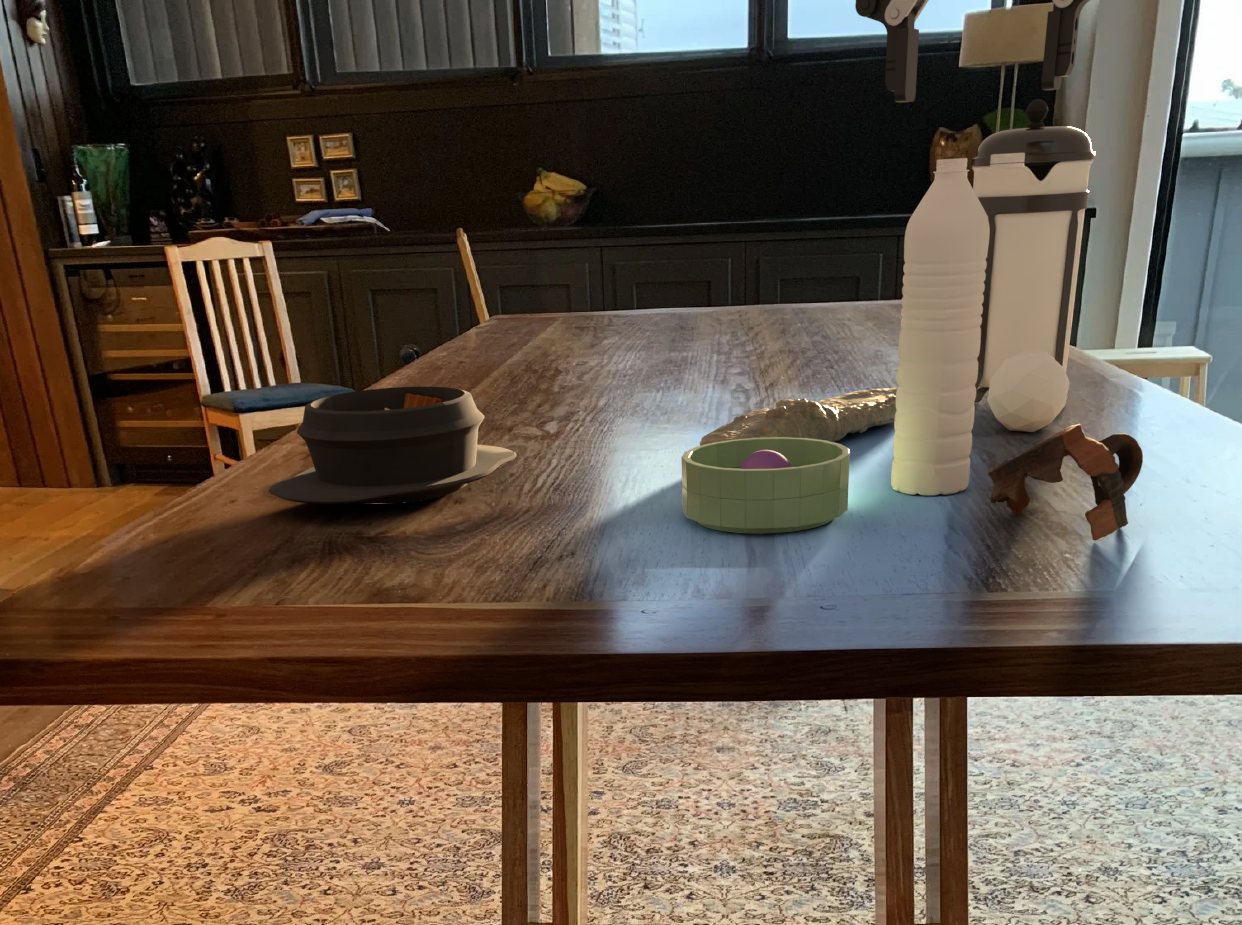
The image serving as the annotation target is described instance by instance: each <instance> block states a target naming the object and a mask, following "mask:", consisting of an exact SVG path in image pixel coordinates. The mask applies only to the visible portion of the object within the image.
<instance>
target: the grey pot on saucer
mask: <svg viewBox="0 0 1242 925" xmlns="http://www.w3.org/2000/svg"><path fill="white" fill-rule="evenodd" d="M484 420H485V415H484V414H483V413H482V412H481V411H480V410H479V409H478V408H477V405H476V402H475V400H474V398H473V396H472V393H471V392H470V391H467V390H464V389H459V388H453V387H445V386H397V387H383V388H371V389H364V390H356V391H349V392H348V391H347V392H342V393H338V394H334V395H329V396H325V397H322V398H318V399H316V400H313V401H311V402H309V403H307V404H306V405H304V411H303V418H302V422H301V424H300V425H299V426H298V427H297V430H296V434H297V435H298V436H299V437H300V438H301V439H302V440H303V441H305V444H306V447H307V450H308V452H309V456H310V459H311V461H312V465H313V466H311V467H309V468H307V469H305V470H304V471H302V472H300V473H298V474H296V475H295V476H292V477H289V478H286V479H283V480H280V481H278V482H277V483H274V484H273V485H271V486H269V489H268V493H269V494H271V495H273V496H274V497H277V498H279V499H282V500H286V501H291V502H295V503H296V502H297V503H303V504H318V505H347V504H358V503H403V502H412V503H414V502H413V501H419V502H421V501H420V500H425V501H427V500H426V499H430V500H432V499H431V498H434V499H437V498H436V497H438V498H441V497H440V496H442V497H444V495H445V496H448V495H451V494H453V493H455V492H458V491H460V490H462V489H463V488H464V487H466V486H467V485H468V484H470V483H473V482H475V481H479V480H481V479H483V478H485V477H487V476H489V475H491V473H493V472H494V471H495V470H497V469H498V468H499V467H500V466H503V465H504V464H507V463H509V462H511V461H513V460H515V458H517V453H516V452H515V451H513V450H512V449H509V448H505V447H501V446H495V445H486V444H478V439H479V438H478V437H479V427H480V426H481V424H482V423H483V421H484ZM447 494H448V495H447ZM356 502H357V503H356ZM403 504H404V503H403Z"/></svg>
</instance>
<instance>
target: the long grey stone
mask: <svg viewBox="0 0 1242 925" xmlns="http://www.w3.org/2000/svg"><path fill="white" fill-rule="evenodd" d="M897 389H898V387H889V388H872V389H868V390H856V391H855V390H854V391H850V392H848V393H843V394H841V395H839V396H835V397H830V398H824V399H820V400H816V401H814V400H807V399H806V398H805V397H803V398H801V399H799V398H796V399H790V398H785V399H780V400H778V401H775V406H776V407H770V408H765V407H764V408H763V407H762V408H760V409H757V410H754V411H752V412H749V413H746V414H742V415H739V416H735V417H734V418H733V420H732V421H731V422H728V423H726V424H724V425H722V426H720V427H718V428H716V429H714V430H713V431H710V432H709V433H707V434H705V435H704V436H702V437H701V440H700V441H699V446H702V445H706V444H710V443H714V442H721V441H728V440H735V439H748V438H767V437H791V438H810V439H818V440H826V441H830V442H834V443H835V442H839V441H841V439H843V438H845V437H846V436H847V434H848V433H851V434H854V433H859V434H862V433H864V432H866V431H867V430H868V429H869V428H871V427H872V428H873V427H876V426H877V427H881V426H884V425H889V424H894V421H895V414H896V411H897V410H896V391H897Z"/></svg>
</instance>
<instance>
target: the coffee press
mask: <svg viewBox="0 0 1242 925" xmlns="http://www.w3.org/2000/svg"><path fill="white" fill-rule="evenodd" d="M1024 112H1025V115H1026V118H1027V120H1028V121H1029V123H1027V125H1026V127H1023V128H1013V129H1012V128H1011V129H1006V130H1000V131H997V132H995V133H992V134H990V135H989V136H987V137H986V138H985V139H983V141H981V143H980V144H979V146H978V149H977V151H976V154H975V157H972V158H971V164H970V165H971V167H972V168H971V169H972V171H973V186H972V188H973V190H974V192H975V194H976V195H977V197H978V199H979V201H980V203H981V205H982V207H983V208H984V210H985V212H986V214H987V217H988V221H989V227H990V235H989V245H988V254H987V258H986V262H987V266H986V269H985V273H986V277H985V281H984V284H985V289H984V292H983V295H984V301H983V303H982V306H983V312H982V314H981V317H982V323H981V325H980V328H981V342H980V352H979V356H978V357H977V361H978V376H977V382H976V383H975V387H976V398H975V401H974V404H977V403H978V404H979V403H980V402H981V401H982V399H983V398H984V396H985V394H986V393H987V392H989V387H990V381H991V377H992V376H993V375H994V374H995V372H996V371H997V370H998V369H999V367H1000V366H1001V365H1002V364H1003V362H1004V361H1005V360H1006V359H1007V358H1010V357H1012V356H1014V355H1016V354H1018V353H1020V352H1022V351H1036V352H1048V353H1049V354H1050V355H1051V356H1052V357H1053V358H1054V359H1055V360H1056V361H1057V362H1058V363H1059V364H1060V365H1061V366H1062V367H1063V368H1064V370H1065V372H1066V373H1067V367H1068V359H1069V352H1070V343H1071V334H1072V325H1073V318H1074V317H1073V316H1074V310H1075V299H1076V291H1077V284H1078V283H1077V282H1078V275H1079V274H1078V273H1079V266H1080V257H1081V246H1082V238H1083V229H1084V220H1085V214H1086V213H1085V211H1086V210H1087V209H1088V205H1089V196H1090V190H1088V185H1089V176H1090V169H1091V165H1092V164H1093V162H1094V160H1095V158H1096V151H1093V149H1092V142H1091V138H1090V137H1089V136H1088V134H1087V133H1086V132H1084V131H1083V130H1082V129H1080V128H1076V127H1073V126H1063V125H1061V126H1058V125H1057V126H1056V125H1055V126H1045V123H1044V122H1043V121H1044V119H1045V118H1046V116H1047V115H1048V112H1049V107H1048V104H1047V102H1046V101H1044V100H1043V99H1042V98H1041V99H1040V98H1037V99H1034V100H1032V101H1031V102H1030V103H1029V104H1028V105H1027V107H1026V110H1025V111H1024ZM1010 153H1025V160H1024V162H1016V163H1024V167H1011V168H991V169H990V165H992V164H990V161H991V155H994V154H1010ZM997 164H1008V163H997ZM1067 396H1069V393H1068V394H1067Z"/></svg>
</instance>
